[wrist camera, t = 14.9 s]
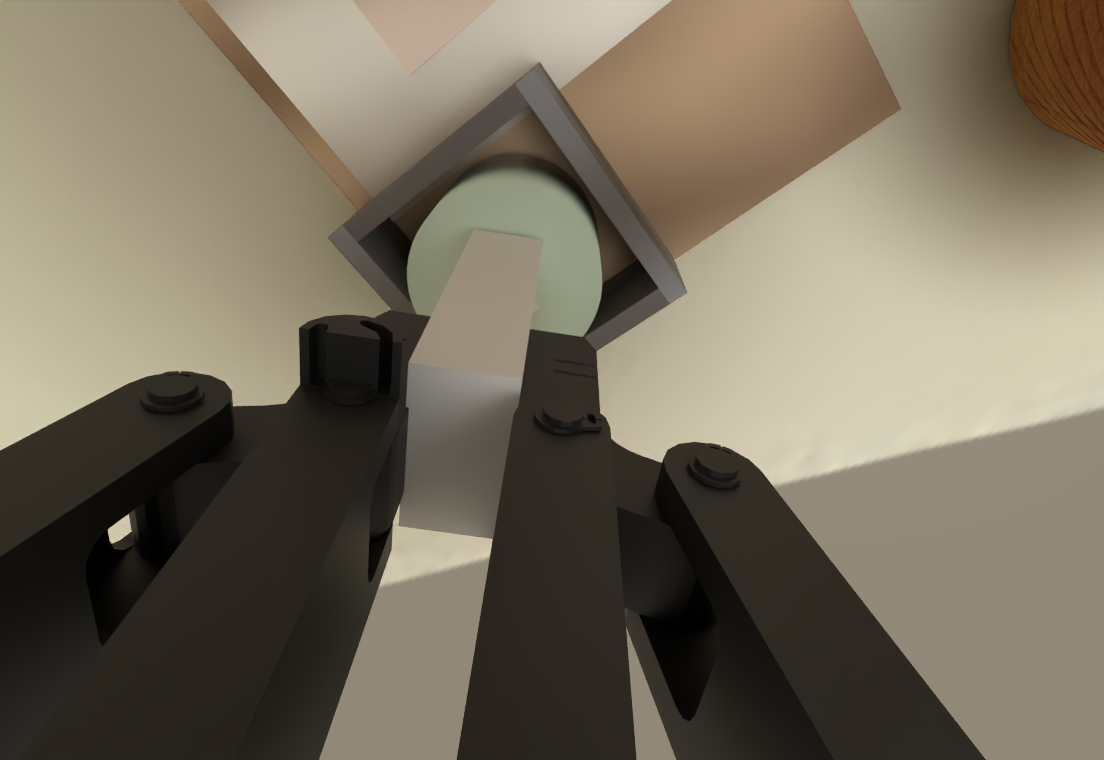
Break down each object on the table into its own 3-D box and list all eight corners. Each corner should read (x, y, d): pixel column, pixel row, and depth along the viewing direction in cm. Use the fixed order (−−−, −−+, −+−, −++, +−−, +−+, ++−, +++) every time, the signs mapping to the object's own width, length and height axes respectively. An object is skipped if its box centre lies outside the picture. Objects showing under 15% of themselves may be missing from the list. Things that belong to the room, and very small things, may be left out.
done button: (402, 221, 19) (365, 264, 15) (532, 118, 17) (521, 141, 14) (503, 341, 20) (489, 404, 17) (629, 256, 19) (640, 306, 16)
